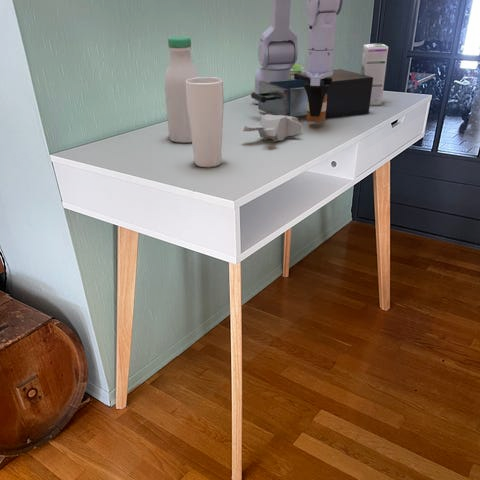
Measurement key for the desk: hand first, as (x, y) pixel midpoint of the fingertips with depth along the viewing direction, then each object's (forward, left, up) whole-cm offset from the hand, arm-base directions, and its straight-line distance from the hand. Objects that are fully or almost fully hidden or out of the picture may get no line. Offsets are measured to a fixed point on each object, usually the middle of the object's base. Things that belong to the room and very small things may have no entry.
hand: (316, 113), depth 119 cm
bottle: (0, 0, -1) cm, 1 cm away
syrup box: (+8, +29, -3) cm, 31 cm away
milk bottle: (-25, -20, -3) cm, 32 cm away
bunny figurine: (-6, -14, -3) cm, 15 cm away
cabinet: (0, +17, -3) cm, 18 cm away
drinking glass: (-13, -35, -3) cm, 37 cm away
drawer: (-10, +8, -2) cm, 13 cm away
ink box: (-17, +38, -3) cm, 42 cm away
